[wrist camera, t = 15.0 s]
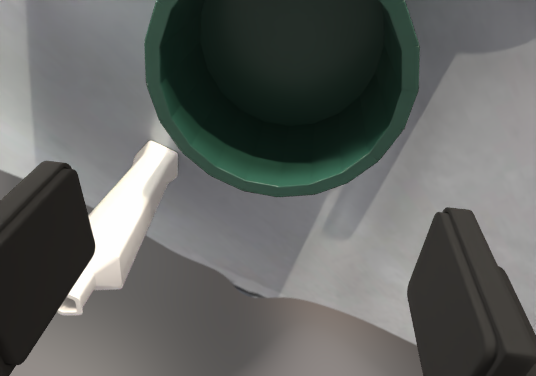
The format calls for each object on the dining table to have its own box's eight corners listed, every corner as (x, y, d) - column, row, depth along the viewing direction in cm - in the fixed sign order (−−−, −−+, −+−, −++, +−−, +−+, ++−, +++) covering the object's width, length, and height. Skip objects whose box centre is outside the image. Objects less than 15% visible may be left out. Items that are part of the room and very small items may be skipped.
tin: (218, 139, 33) (188, 204, 26) (164, -56, 25) (101, -40, 18) (396, 121, 30) (416, 187, 23) (395, -105, 22) (423, -108, 15)
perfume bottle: (174, 133, 33) (82, 271, 21) (190, 179, 35) (115, 326, 23) (122, 139, 34) (4, 274, 21) (141, 183, 36) (44, 327, 24)
